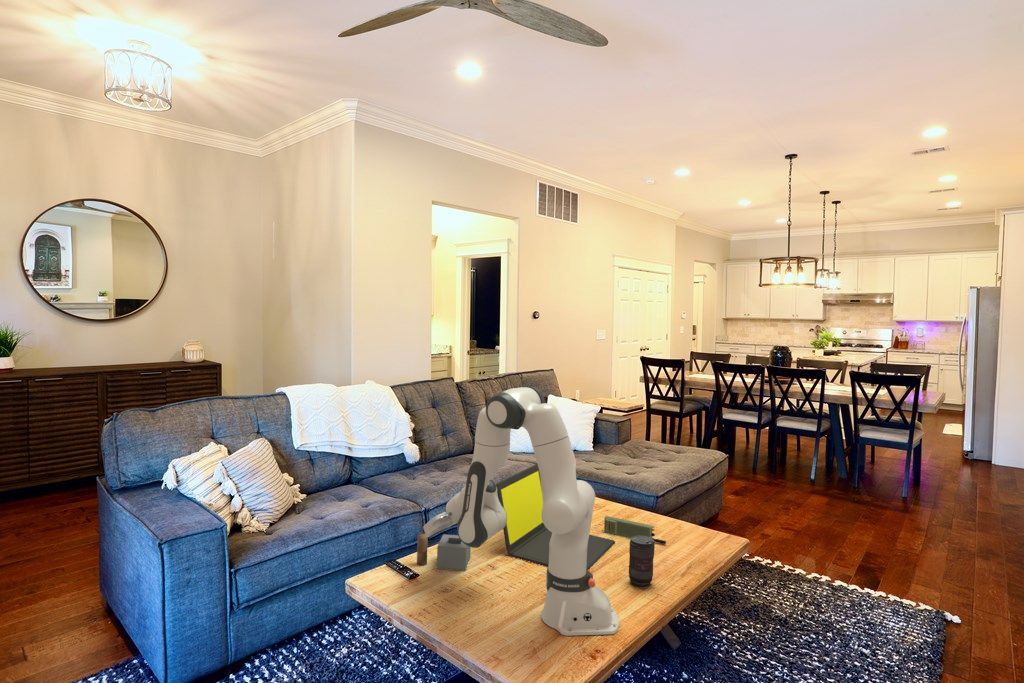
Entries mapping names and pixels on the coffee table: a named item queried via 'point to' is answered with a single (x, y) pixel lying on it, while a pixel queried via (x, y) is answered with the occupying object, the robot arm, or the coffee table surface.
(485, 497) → the robot arm
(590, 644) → the coffee table surface
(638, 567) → the camera lens
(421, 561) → the walnut peg
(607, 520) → the handheld radio
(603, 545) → the laptop
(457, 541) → the socket block
